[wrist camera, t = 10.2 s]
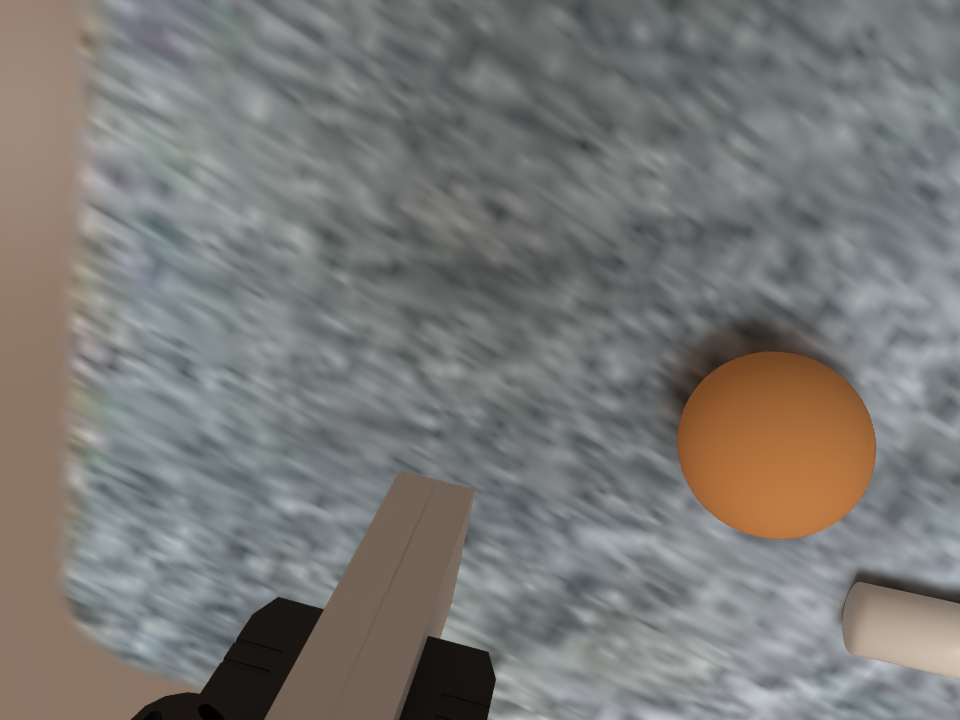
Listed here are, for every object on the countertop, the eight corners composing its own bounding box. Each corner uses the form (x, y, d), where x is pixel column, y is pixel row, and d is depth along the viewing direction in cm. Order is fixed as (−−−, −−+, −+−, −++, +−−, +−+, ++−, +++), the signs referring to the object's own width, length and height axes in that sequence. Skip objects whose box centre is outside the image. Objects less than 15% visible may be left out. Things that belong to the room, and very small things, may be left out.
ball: (909, 361, 21) (743, 288, 25) (764, 512, 20) (616, 410, 24) (927, 476, 24) (778, 396, 28) (804, 608, 24) (670, 506, 28)
